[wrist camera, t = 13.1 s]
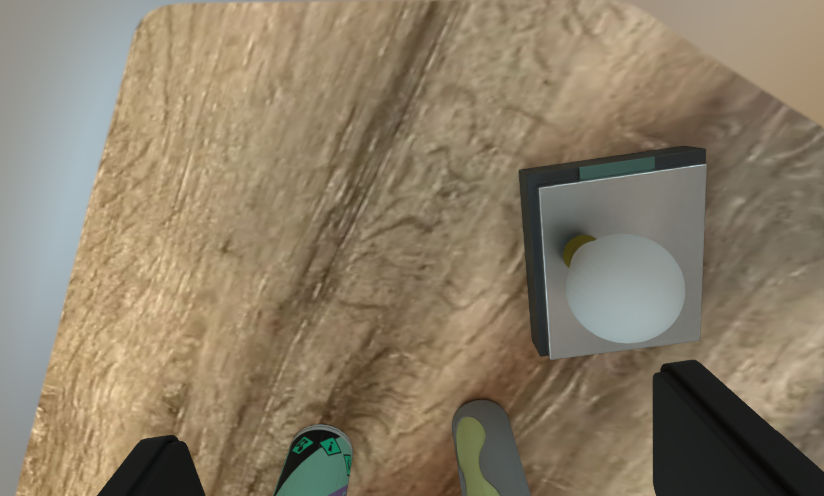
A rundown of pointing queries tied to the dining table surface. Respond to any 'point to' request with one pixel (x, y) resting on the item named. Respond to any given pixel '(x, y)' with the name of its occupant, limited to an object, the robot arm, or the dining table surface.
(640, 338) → the light bulb
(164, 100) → the dining table surface
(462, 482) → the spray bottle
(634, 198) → the scale
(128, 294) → the dining table surface
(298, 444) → the spray can
